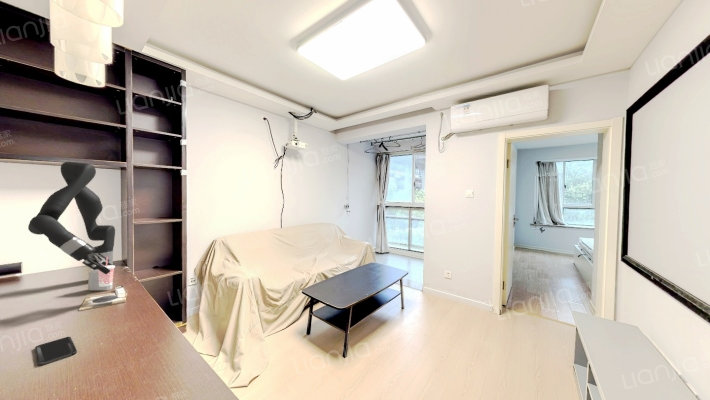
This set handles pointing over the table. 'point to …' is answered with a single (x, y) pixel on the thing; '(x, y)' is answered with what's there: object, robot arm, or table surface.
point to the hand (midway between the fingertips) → (111, 270)
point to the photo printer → (96, 281)
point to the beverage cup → (106, 275)
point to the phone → (55, 351)
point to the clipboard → (102, 301)
